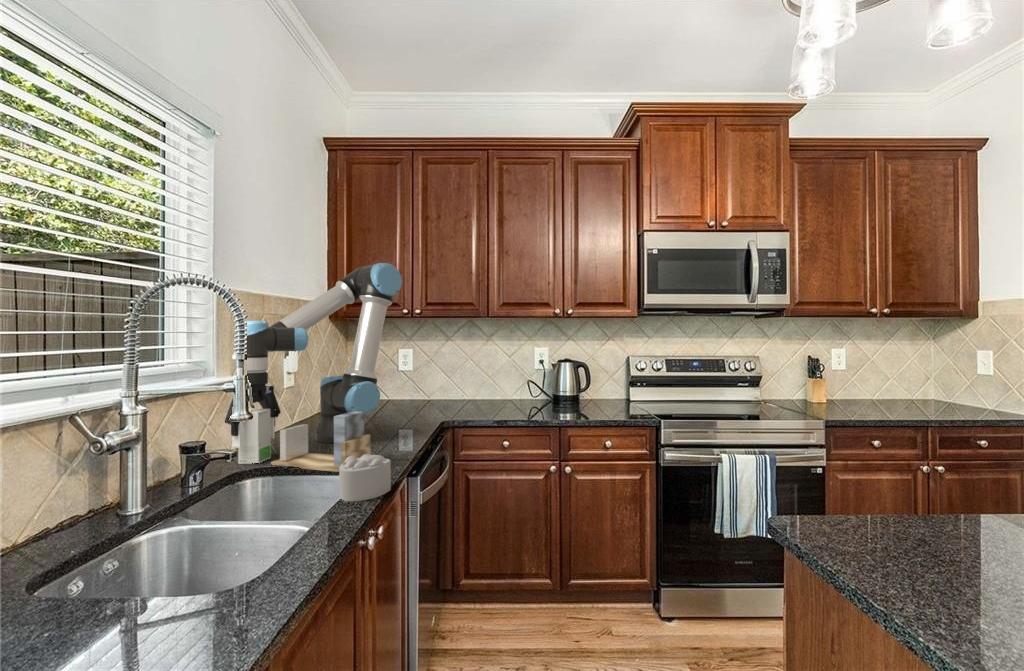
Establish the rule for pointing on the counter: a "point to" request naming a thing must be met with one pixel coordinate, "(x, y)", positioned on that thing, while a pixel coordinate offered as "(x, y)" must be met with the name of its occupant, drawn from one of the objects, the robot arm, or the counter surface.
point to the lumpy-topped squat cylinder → (364, 477)
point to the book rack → (337, 445)
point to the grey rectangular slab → (293, 442)
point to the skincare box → (256, 438)
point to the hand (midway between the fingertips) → (254, 442)
